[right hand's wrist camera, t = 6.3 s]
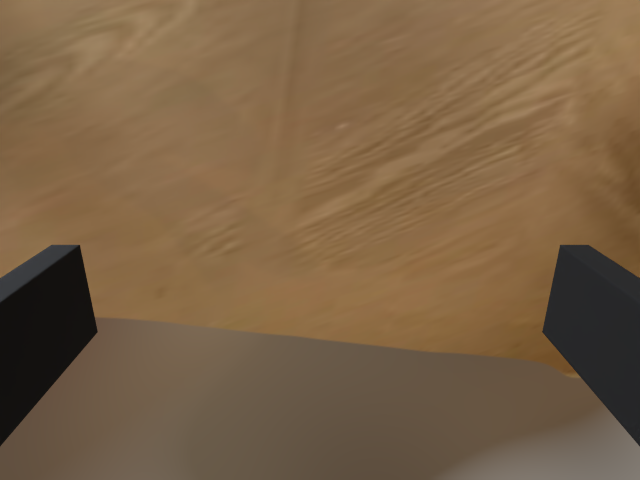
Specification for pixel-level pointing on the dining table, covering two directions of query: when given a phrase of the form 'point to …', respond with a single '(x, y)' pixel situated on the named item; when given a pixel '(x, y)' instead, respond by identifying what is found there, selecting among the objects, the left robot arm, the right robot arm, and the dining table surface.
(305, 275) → the dining table surface
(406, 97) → the dining table surface
